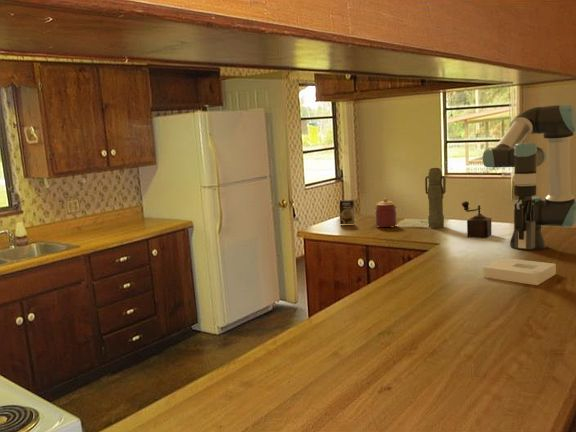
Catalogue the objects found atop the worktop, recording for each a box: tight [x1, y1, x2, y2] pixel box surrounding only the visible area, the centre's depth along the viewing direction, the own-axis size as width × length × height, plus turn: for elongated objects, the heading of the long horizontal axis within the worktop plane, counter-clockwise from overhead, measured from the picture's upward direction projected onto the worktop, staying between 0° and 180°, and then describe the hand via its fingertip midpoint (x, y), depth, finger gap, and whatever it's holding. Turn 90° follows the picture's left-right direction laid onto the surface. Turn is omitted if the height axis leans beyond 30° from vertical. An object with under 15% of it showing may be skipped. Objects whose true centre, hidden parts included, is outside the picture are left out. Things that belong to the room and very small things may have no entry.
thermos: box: [424, 167, 447, 229], centre depth 311 cm, size 9×12×35 cm
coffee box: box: [339, 199, 355, 225], centre depth 338 cm, size 9×6×16 cm
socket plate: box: [482, 257, 557, 286], centre depth 202 cm, size 18×20×4 cm
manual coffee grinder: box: [461, 200, 492, 239], centre depth 281 cm, size 16×11×18 cm
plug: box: [514, 221, 535, 250], centre depth 198 cm, size 4×6×10 cm, turn 44°
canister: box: [374, 197, 398, 227], centre depth 325 cm, size 13×13×18 cm
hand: (524, 246), depth 199 cm, fingers closed on plug, 4 cm apart
